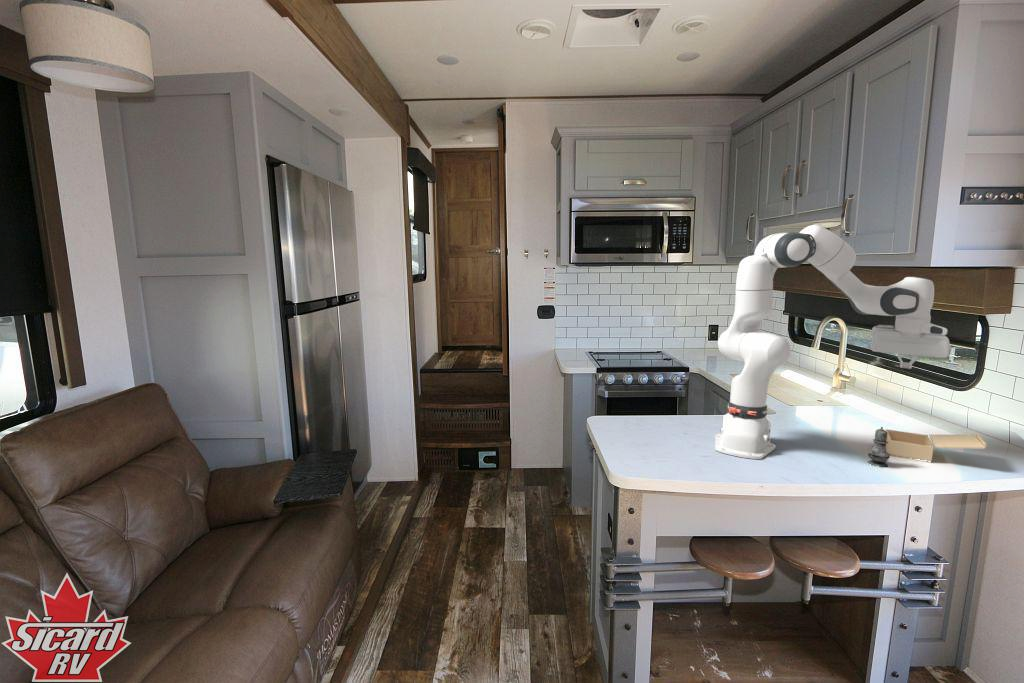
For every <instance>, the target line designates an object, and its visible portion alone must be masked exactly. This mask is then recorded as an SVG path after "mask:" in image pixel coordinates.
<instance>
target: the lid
mask: <svg viewBox="0 0 1024 683" xmlns="http://www.w3.org/2000/svg"><path fill="white" fill-rule="evenodd" d="M928 437H929V439H930V441H931V443H932V445H933V446H934V448H936V449H979V450H980V449H982V450H985V449H986V448H987V443H986V441H984V440H983V438H982V437H981V436H980V435H979V433H977V432H975V433H974V434H928Z"/></svg>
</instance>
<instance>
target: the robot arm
mask: <svg viewBox="0 0 1024 683" xmlns="http://www.w3.org/2000/svg"><path fill="white" fill-rule="evenodd" d="M856 260H857V253H856V251H855V249H854V248H853V247H852V246H851V245H850V244H849V243H848V242H846V240H844V239H843V238H841V237H840V236H839V235H837V234H836V233H834V232H832V230H829V229H827V228H825V227H824V226H821V225H818V224H811V225H808V226H805V227H804V228H803V229H801V230H800V231H799V232H793V231H792V232H778V233H774V234H773V233H772V234H767V235H765V236H763V237H761V238H760V239H759V240H758V241H757V242H756V243H755V245H754V246H753V250H752V252H751V253H750V255H749V256H748V255H747V256H746V257H744V258H742V260H740V262H739V263H738V268H737V273H736V279H735V281H736V282H735V295H734V296H735V298H734V310H733V311H734V312H733V316H732V318H731V322H730V323H729V326H728V327H727V328H726V330H724V331H723V332H722V333H721V334H720V335H719V338H718V340H717V348H718V350H719V353H720V354H722V355H724V356H725V357H727V358H729V359H731V360H733V361H738V362H742V363H744V366H743V369H742V370H741V373H740V374H737V375H735V376H734V377H733V378H732V380H731V384H730V385H731V386H730V395H729V396H730V398H729V401H728V404H727V413H726V414H723V422H722V428H721V427H720V429H719V430H720V433H717V434H715V438H714V450H715V451H717V452H719V453H722V454H725V455H730V456H735V457H740V458H744V459H745V458H746V459H751V460H753V459H754V460H757V459H758V460H761V459H763V458H765V457H766V456H768V455H769V454H770V453H771V452H772V451H775V449H776V445H775V444H773V443H771V425H772V424H771V422H770V421H769V420H768V419H767V414H768V405H767V397H768V388H769V385H770V380H771V378H772V376H773V375H774V373H775V371H776V370H777V369H779V368H780V367H782V366H783V365H785V364H786V363H787V361H788V360H789V358H790V356H791V345H790V342H789V341H788V340H787V339H786V338H784V337H783V336H779V335H777V334H775V333H771V332H762V331H760V330H759V329H760V325H761V324H762V321H763V320H764V319H766V318H768V317H770V315H771V314H772V312H773V298H774V297H773V292H774V276H775V273H776V271H777V269H779V268H794V267H798V266H800V265H803V264H804V263H805V262H806V261H807V262H808V263H809V264H811V265H812V267H814V268H816V269H817V270H818V271H819V272H821V273H822V274H823V275H824V276H825V277H826V278H827V279H828V280H829V281H830V282H831V283H832V284H833V285H834V287H836V288H837V289H838V290H839V291H840V292H841V293H842V294H843V295H844V296H845V297H846V298H847V300H848V301H849V303H850V305H851V307H852V309H853V310H854V311H855V312H856V313H858V314H860V315H863V316H864V315H865V316H867V315H868V316H869V315H870V316H871V315H877V316H886V317H889V316H890V317H893V316H894V317H895V323H894V325H893V324H892V325H891V324H878V325H874V326H873V327H872V329H871V333H870V334H871V337H872V339H871V342H870V350H871V351H872V352H875V353H876V352H877V353H884V354H885V353H886V354H887V353H888V354H895V355H896V354H897V356H896V358H897V359H898V361H899V362H900V365H899V368H900V369H909V370H910V369H912V368H913V364H914V363H915V362H916V361H917V360H918V356H919V357H928V358H941V359H946V358H949V356H950V352H951V345H950V344H951V343H950V339H949V338H948V337H947V336H946V335H947V334H948V332H949V331H948V329H947V328H946V327H944V326H940V325H938V324H936V323H932V322H931V321H932V320H931V319H932V316H931V310H932V308H933V306H934V301H935V300H934V299H935V285H934V282H933V280H931V279H929V278H927V277H922V276H906V277H904V278H903V279H902V280H900V281H898V282H896V283H894V284H890V285H888V286H887V285H885V286H882V285H881V286H880V285H877V286H876V285H872V284H871V285H869V284H866V283H864V282H863V281H862V280H860V279H859V278H858V277H857V276H856V275H855V274H854V273H853V272H852V271H851V269H853V267H854V266H855V264H856ZM904 355H908V356H911V360H910V361H909V362H907V361H906V362H905V361H903V359H902V358H904Z"/></svg>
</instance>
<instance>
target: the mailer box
mask: <svg viewBox="0 0 1024 683" xmlns="http://www.w3.org/2000/svg"><path fill="white" fill-rule="evenodd" d="M885 431H886V432H887V439H886V441H887V442H888V443H886V452H887V453H889V454H890V455H891V456H890V457H896V456H897V458H902V457H905V458H904V459H907V458H912V459H911V460H913V459H920V460H927V461H932V460H933V454H934V453H933V452H934V444H933V442H932V440H931V438H930V436H929V434H928V435H927V434H920V433H915V432H914V433H912V432H908V431H903V430H901V431H900V430H894V429H888V428H885Z"/></svg>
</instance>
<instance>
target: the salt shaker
mask: <svg viewBox="0 0 1024 683" xmlns="http://www.w3.org/2000/svg"><path fill="white" fill-rule="evenodd" d="M886 439H887V432H886V429H884V427H883V426H881V427H880V428H878V429H876V430H875V434H874V439H872V441H873V447H872V448H871V449H867V451H866V452H867V454H868V458H869V460H867V461H866V463H867V462H868V463H869V464H868V463H867V464H868V465H870V464H871V466H873V465H874V466H873V467H876V466H879V467H878V468H884V467H885V468H888V467H889V464H887V463H886V462H888V461H889V459H890V458H891V457H892V456H891V455H890V454H889V453H887V452H886V443H888V442H887V441H886Z"/></svg>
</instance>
